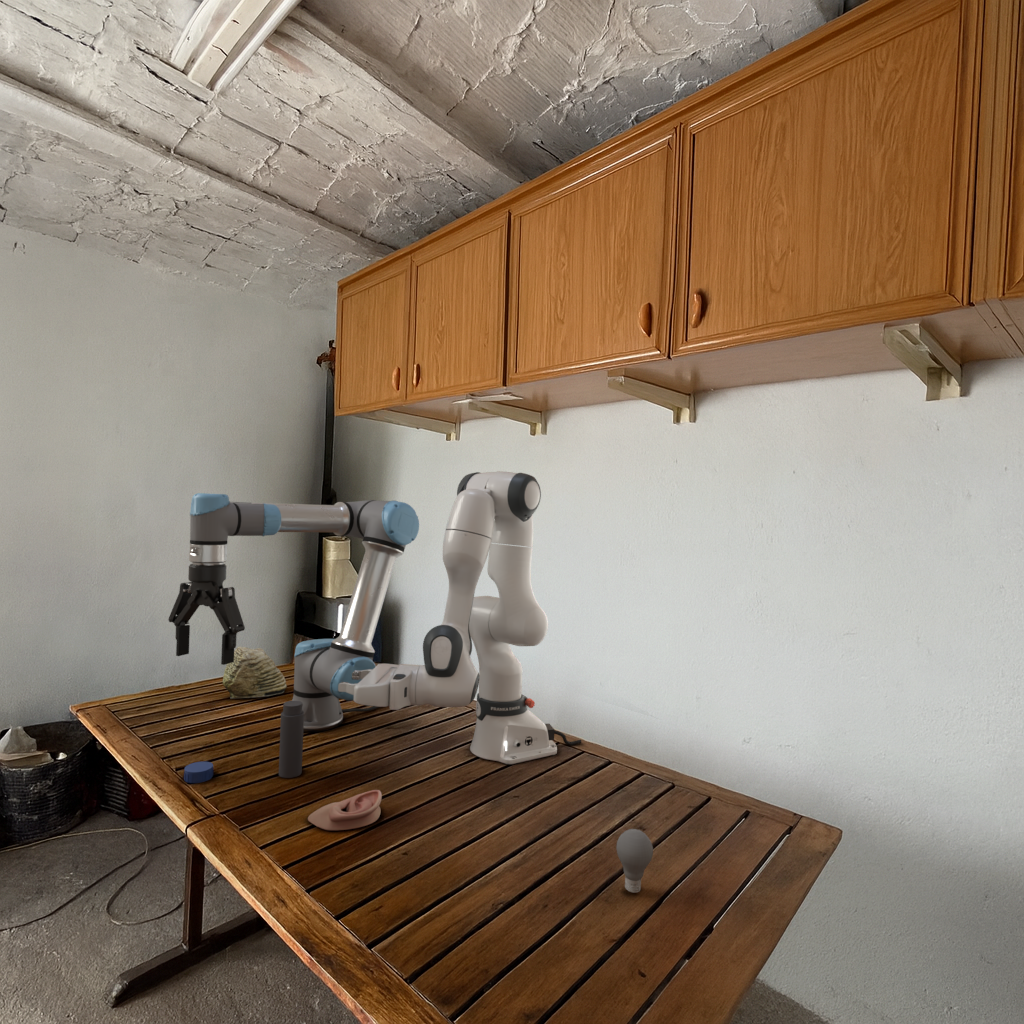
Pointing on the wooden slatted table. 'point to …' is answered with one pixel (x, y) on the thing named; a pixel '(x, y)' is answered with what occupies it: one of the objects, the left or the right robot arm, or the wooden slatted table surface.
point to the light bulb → (634, 857)
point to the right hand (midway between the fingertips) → (346, 680)
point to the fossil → (253, 675)
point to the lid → (198, 772)
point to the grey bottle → (291, 739)
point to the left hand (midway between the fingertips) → (204, 659)
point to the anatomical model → (349, 812)
